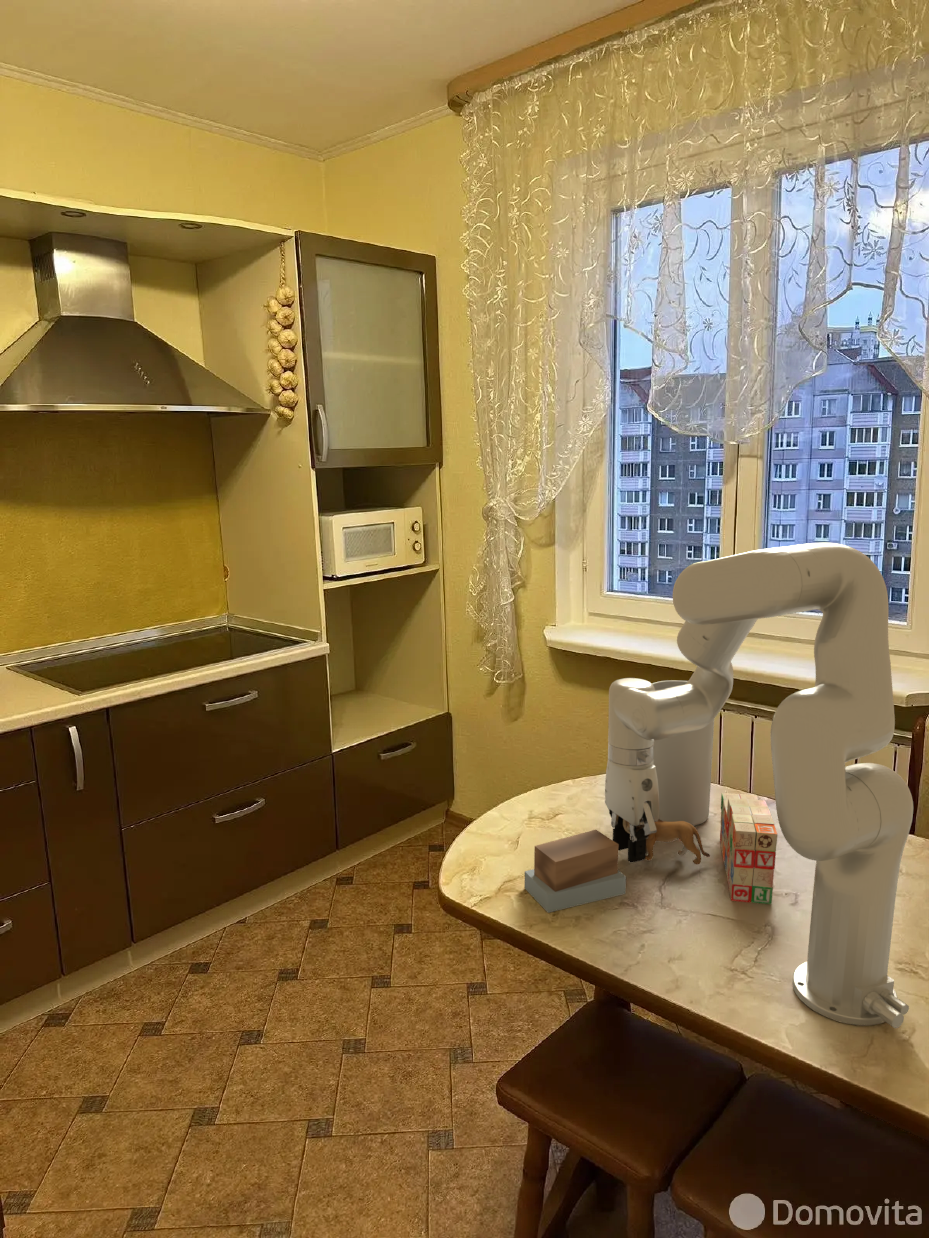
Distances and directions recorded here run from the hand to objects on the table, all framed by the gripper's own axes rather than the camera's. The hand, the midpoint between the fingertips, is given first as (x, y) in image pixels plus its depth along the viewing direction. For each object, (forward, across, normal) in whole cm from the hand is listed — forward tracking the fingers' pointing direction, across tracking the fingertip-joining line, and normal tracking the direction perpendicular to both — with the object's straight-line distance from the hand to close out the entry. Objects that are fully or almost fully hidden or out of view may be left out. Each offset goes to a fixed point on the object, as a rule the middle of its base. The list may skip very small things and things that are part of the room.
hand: (628, 853), depth 148 cm
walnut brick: (-1, -4, +13) cm, 14 cm away
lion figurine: (+1, -2, -5) cm, 6 cm away
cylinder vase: (+2, +13, -19) cm, 23 cm away
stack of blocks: (+2, -10, -16) cm, 19 cm away
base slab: (+2, -4, +13) cm, 14 cm away
